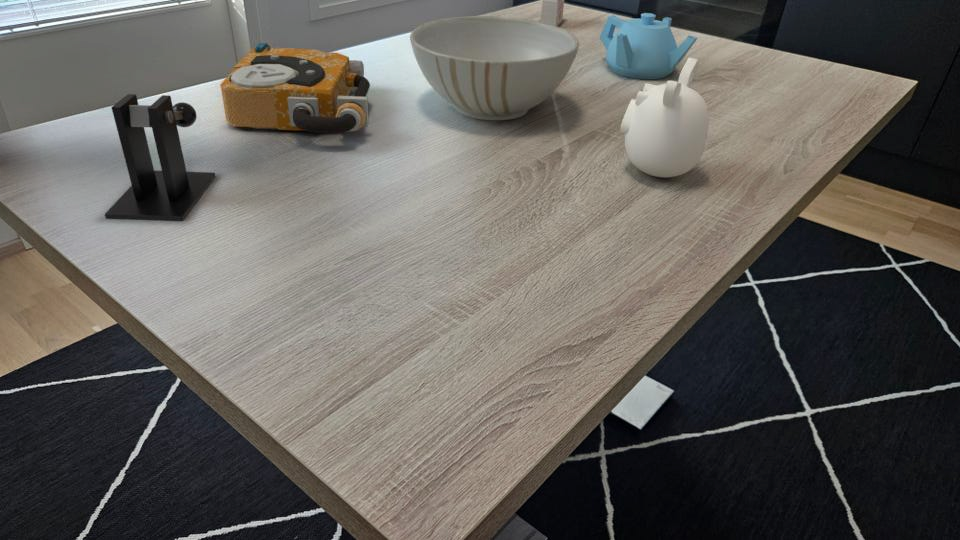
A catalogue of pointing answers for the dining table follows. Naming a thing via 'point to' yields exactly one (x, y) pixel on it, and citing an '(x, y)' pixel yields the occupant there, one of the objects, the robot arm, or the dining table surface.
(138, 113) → the lever
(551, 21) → the white rectangular block
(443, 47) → the decorative bowl
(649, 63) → the teapot
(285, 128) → the device
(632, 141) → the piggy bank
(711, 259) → the dining table surface
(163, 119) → the bracket
